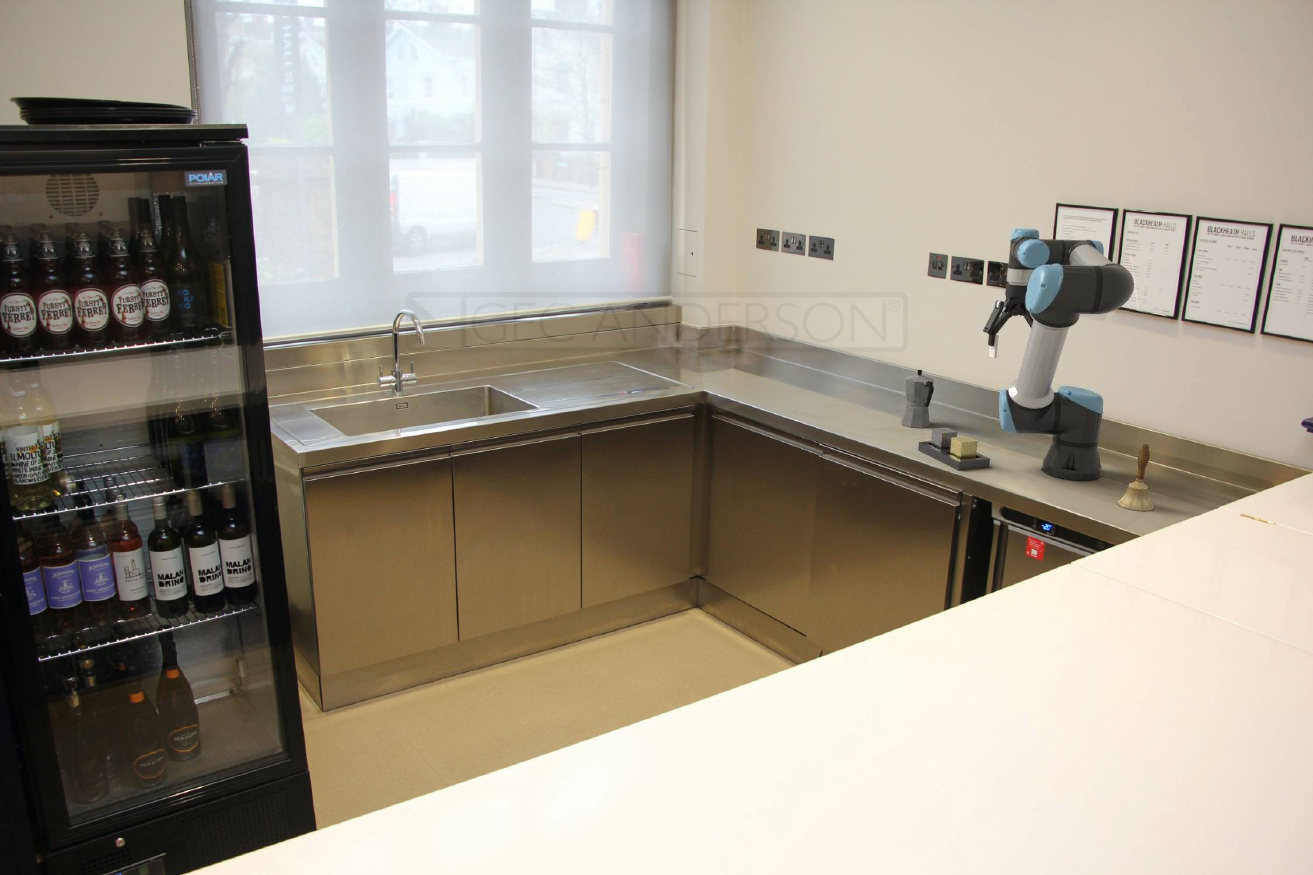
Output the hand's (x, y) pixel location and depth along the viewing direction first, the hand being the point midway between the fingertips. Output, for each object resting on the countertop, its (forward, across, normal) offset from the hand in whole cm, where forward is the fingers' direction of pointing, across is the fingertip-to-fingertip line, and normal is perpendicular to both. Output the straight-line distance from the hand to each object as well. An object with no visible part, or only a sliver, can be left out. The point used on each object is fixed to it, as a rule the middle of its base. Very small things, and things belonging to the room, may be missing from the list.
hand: (1012, 355), depth 298 cm
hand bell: (+27, +3, +57) cm, 63 cm away
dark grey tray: (+27, +25, +11) cm, 38 cm away
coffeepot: (+27, +14, -25) cm, 39 cm away
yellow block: (+26, +25, +16) cm, 39 cm away
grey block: (+26, +25, +6) cm, 37 cm away
